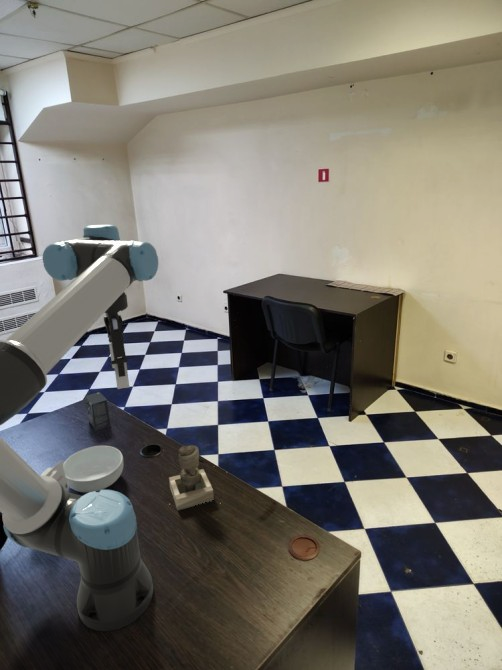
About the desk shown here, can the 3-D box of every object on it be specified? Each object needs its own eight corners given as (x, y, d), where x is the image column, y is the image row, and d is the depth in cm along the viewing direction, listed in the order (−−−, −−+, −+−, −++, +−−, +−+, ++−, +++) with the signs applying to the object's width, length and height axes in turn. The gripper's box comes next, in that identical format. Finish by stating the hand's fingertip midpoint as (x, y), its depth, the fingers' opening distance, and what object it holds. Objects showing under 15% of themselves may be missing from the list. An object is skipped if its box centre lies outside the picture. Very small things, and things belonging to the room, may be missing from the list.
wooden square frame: (213, 500, 121) (213, 489, 120) (177, 510, 118) (176, 499, 117) (204, 479, 130) (203, 468, 129) (169, 487, 127) (168, 477, 126)
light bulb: (205, 491, 124) (202, 444, 119) (193, 502, 120) (189, 454, 115) (190, 484, 127) (186, 439, 122) (177, 496, 122) (173, 448, 118)
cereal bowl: (56, 481, 131) (52, 460, 129) (110, 458, 141) (107, 439, 139) (78, 510, 119) (74, 488, 116) (135, 483, 129) (133, 462, 127)
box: (88, 421, 163) (84, 395, 160) (103, 416, 166) (100, 391, 163) (95, 430, 157) (90, 403, 154) (111, 425, 160) (107, 399, 157)
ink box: (55, 502, 122) (46, 456, 117) (71, 505, 121) (63, 458, 116) (35, 525, 114) (24, 476, 109) (52, 527, 113) (42, 479, 108)
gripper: (132, 303, 94) (143, 394, 101) (120, 281, 116) (129, 357, 123) (95, 308, 91) (108, 400, 98) (90, 284, 114) (101, 361, 120)
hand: (120, 376), depth 111 cm, fingers open, 13 cm apart
